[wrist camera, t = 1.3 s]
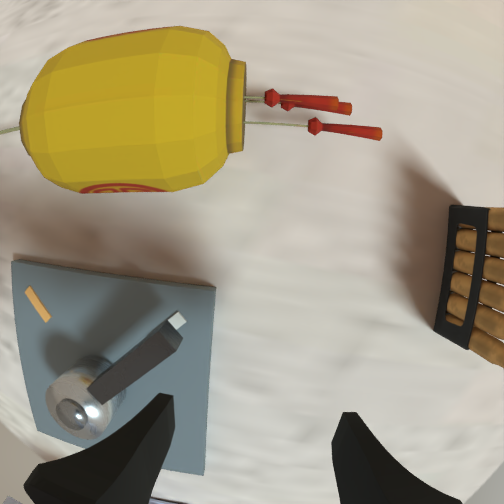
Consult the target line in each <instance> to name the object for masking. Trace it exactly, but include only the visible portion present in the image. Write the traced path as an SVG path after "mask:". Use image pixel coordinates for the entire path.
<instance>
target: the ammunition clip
mask: <svg viewBox="0 0 504 504" xmlns="http://www.w3.org/2000/svg"><path fill="white" fill-rule="evenodd" d="M473 229H476V230H473ZM487 230H489V231H491V232H488V231H487ZM502 232H504V208H494V207H474V206H462V205H451V206H450V207H449V223H448V236H447V247H446V256H445V265H444V272H443V280H442V286H441V293H440V299H439V304H438V310H437V315H436V320H435V325H434V330H433V331H434V332H436V333H437V334H439V335H441V336H443V337H445V338H446V339H448V340H450V341H452V342H453V343H455V344H457V345H459V346H460V347H462V348H464V349H466V350H469V349H470V350H472V351H473V352H475V353H476V354H478V355H480V356H481V357H483V358H484V359H486V360H487V361H489V362H490V363H493V364H496V365H499V366H501V367H502V368H504V343H503V342H502V341H500V340H498V339H502V340H504V314H502V313H500V312H498V311H495V310H493V309H492V308H494V309H496V310H499V311H501V312H504V286H501V285H498V284H496V283H499V284H503V285H504V260H503V259H500V257H501V258H504V233H502ZM471 252H475V253H471ZM485 254H486V255H490V257H489V256H485ZM468 274H470V275H472V276H470V275H468ZM482 278H483V279H486V280H487V281H486V280H483V279H482ZM464 296H465V297H464ZM466 297H467V298H466ZM478 302H480V303H482V304H483V305H482V304H480V303H478ZM488 333H489V334H488ZM491 335H492V336H491ZM493 336H494V337H493ZM495 337H496V338H495ZM497 338H498V339H497Z"/></svg>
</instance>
